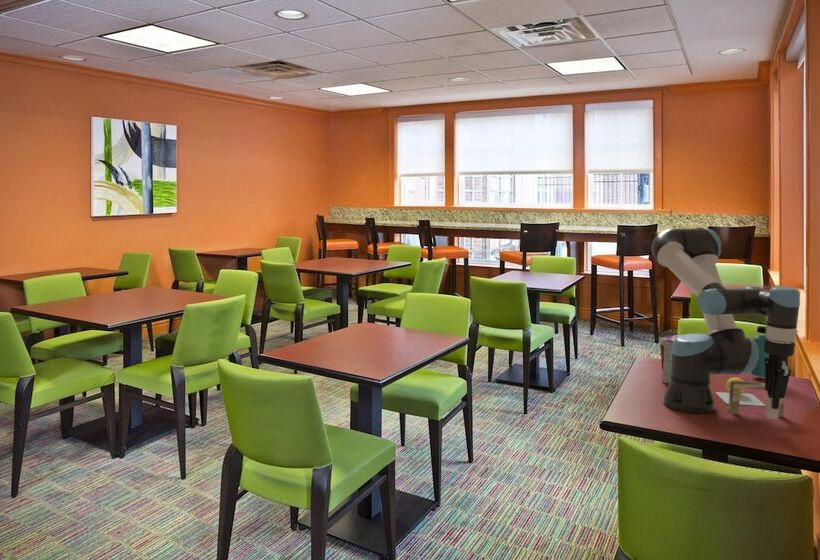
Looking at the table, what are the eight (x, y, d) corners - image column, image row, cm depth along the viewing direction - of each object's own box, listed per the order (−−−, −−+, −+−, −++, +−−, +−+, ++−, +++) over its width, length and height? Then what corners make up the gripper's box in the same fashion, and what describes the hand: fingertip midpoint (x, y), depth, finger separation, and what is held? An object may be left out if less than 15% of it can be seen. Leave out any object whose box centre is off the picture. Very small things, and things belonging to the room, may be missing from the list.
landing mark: (726, 404, 201) (726, 403, 201) (715, 392, 213) (715, 392, 213) (765, 406, 199) (765, 405, 199) (752, 394, 211) (752, 394, 211)
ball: (723, 393, 214) (729, 395, 208) (723, 376, 214) (729, 377, 209) (742, 394, 213) (748, 396, 207) (742, 376, 213) (748, 378, 208)
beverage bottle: (773, 381, 227) (777, 328, 224) (755, 381, 227) (759, 328, 224) (763, 376, 233) (767, 324, 230) (746, 375, 233) (750, 324, 230)
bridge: (783, 416, 190) (785, 386, 189) (731, 413, 192) (734, 384, 191) (779, 413, 193) (781, 383, 191) (728, 410, 195) (730, 381, 194)
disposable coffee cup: (653, 365, 247) (654, 336, 245) (675, 365, 248) (677, 336, 246) (665, 372, 238) (667, 342, 236) (688, 371, 239) (690, 341, 237)
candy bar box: (671, 376, 232) (674, 334, 230) (685, 378, 229) (688, 336, 227) (661, 382, 224) (663, 339, 222) (675, 385, 221) (678, 341, 219)
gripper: (804, 346, 169) (795, 427, 173) (784, 335, 182) (776, 410, 186) (775, 345, 171) (767, 425, 174) (757, 334, 183) (750, 408, 187)
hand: (771, 417), depth 180 cm, fingers closed
